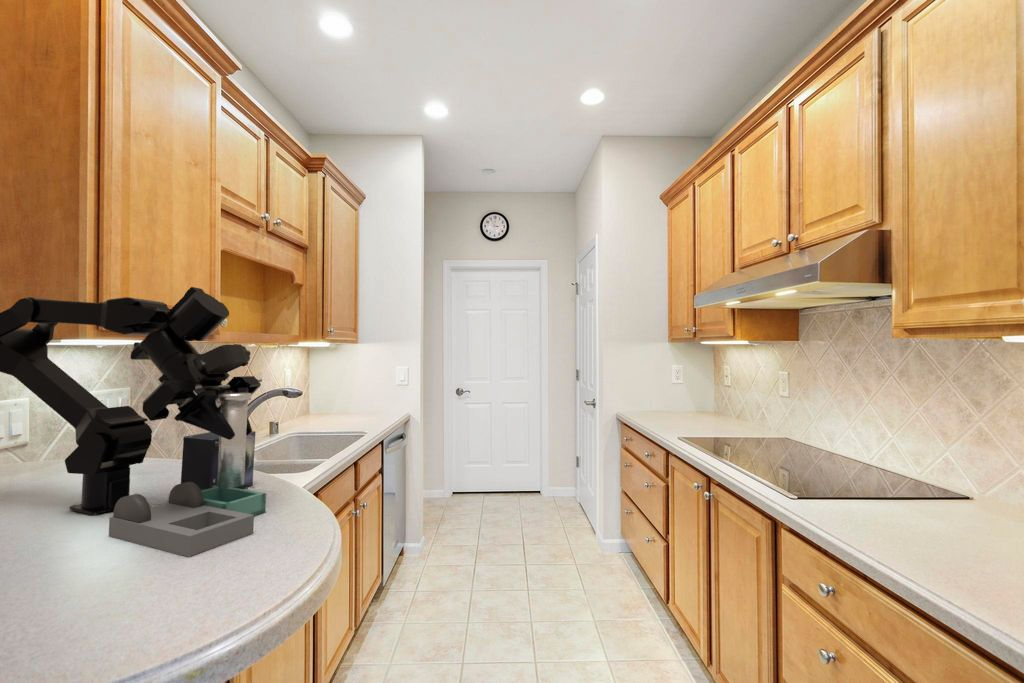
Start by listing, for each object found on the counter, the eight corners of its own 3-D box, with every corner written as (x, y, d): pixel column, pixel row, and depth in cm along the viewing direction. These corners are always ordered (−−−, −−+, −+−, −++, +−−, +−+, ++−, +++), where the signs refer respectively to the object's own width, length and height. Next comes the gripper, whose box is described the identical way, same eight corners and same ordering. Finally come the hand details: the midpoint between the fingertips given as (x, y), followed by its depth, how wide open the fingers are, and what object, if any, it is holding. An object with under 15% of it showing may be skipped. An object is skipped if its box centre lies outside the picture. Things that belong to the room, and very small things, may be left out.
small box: (210, 501, 82) (212, 438, 82) (177, 498, 83) (180, 436, 83) (255, 485, 92) (257, 429, 92) (225, 483, 93) (227, 428, 94)
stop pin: (207, 488, 73) (212, 394, 73) (225, 480, 77) (229, 391, 78) (236, 489, 73) (241, 394, 73) (252, 481, 77) (256, 392, 78)
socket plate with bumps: (108, 536, 66) (110, 493, 66) (176, 516, 74) (178, 479, 74) (189, 557, 59) (191, 510, 60) (253, 533, 68) (254, 492, 68)
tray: (179, 515, 74) (180, 495, 74) (220, 503, 80) (221, 485, 81) (225, 525, 70) (226, 504, 71) (265, 512, 77) (266, 493, 77)
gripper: (165, 321, 67) (236, 405, 65) (252, 329, 86) (309, 395, 84) (111, 377, 68) (179, 461, 66) (209, 373, 86) (264, 439, 85)
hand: (241, 435), depth 75 cm, fingers closed on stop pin, 4 cm apart
